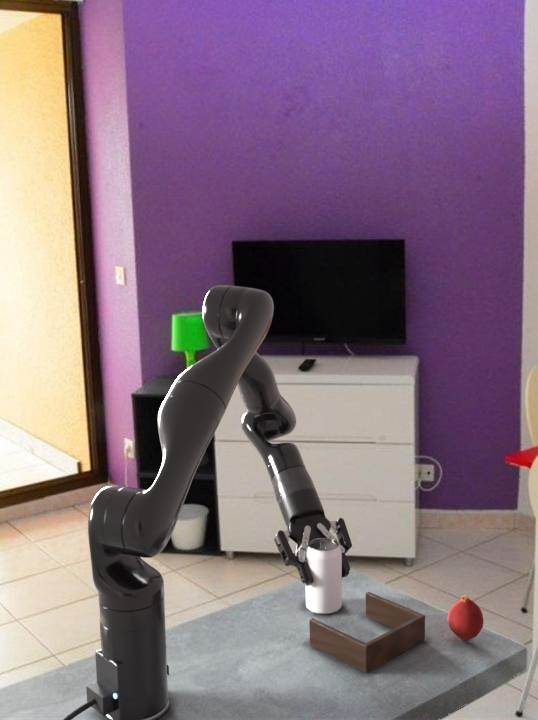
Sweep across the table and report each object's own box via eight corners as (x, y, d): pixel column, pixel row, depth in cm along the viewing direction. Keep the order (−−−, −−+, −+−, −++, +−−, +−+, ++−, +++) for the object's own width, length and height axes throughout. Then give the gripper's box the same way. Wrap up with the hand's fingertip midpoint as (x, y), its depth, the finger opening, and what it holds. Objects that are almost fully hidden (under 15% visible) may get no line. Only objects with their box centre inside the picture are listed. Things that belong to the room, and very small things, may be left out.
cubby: (366, 673, 141) (366, 646, 140) (309, 644, 150) (309, 619, 149) (425, 640, 151) (425, 615, 150) (368, 615, 160) (368, 591, 159)
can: (342, 599, 166) (342, 537, 164) (340, 616, 159) (340, 551, 157) (307, 598, 166) (307, 536, 164) (304, 614, 160) (303, 550, 158)
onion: (462, 628, 155) (463, 584, 153) (489, 640, 150) (491, 595, 149) (440, 640, 151) (441, 595, 149) (468, 653, 146) (469, 606, 145)
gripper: (268, 493, 163) (299, 580, 154) (337, 481, 169) (370, 563, 161) (256, 512, 168) (285, 597, 160) (323, 499, 175) (355, 579, 167)
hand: (328, 579), depth 160 cm, fingers open, 6 cm apart
